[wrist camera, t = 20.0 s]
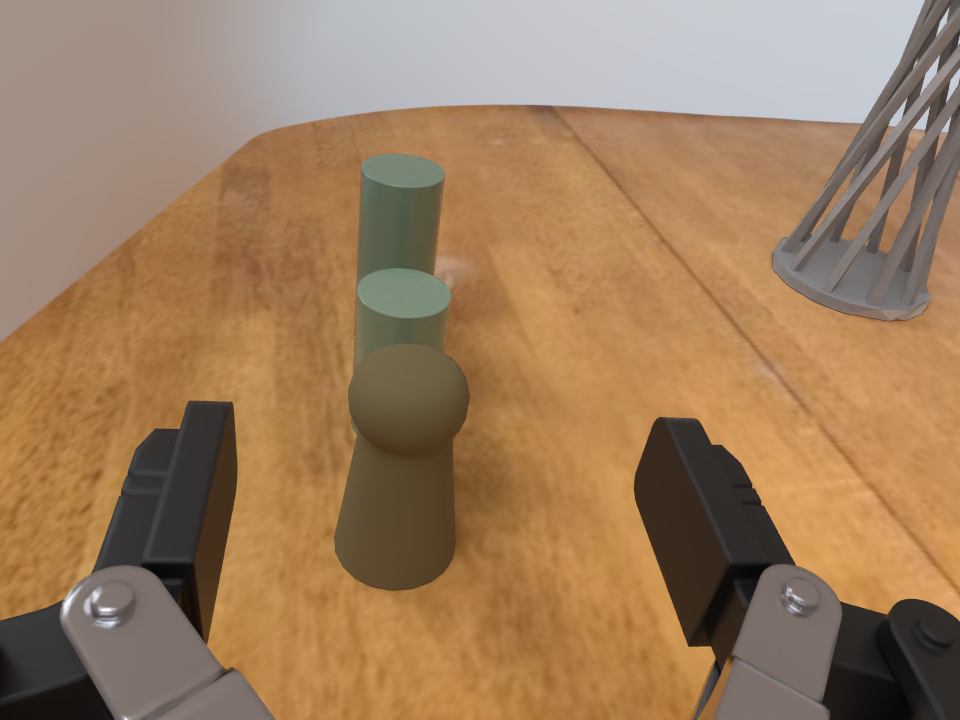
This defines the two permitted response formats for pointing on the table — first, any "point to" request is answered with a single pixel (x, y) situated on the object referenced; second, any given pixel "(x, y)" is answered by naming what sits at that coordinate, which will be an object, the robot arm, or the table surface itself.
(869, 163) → the grey lattice tower
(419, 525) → the olive chess pawn
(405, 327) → the front jar
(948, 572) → the table surface
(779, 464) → the table surface
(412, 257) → the back jar
